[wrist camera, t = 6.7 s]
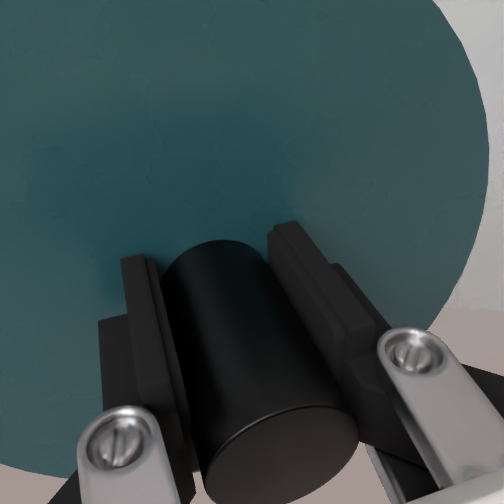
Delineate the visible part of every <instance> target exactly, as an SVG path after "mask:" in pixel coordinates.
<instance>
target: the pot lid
mask: <svg viewBox="0 0 504 504" xmlns="http://www.w3.org/2000/svg"><path fill="white" fill-rule="evenodd" d="M488 167H489V142H488V132H487V122H486V113H485V109H484V105H483V101H482V97H481V94H480V90H479V86H478V82H477V78H476V76H475V73H474V71H473V69H472V66H471V64H470V62H469V59H468V57H467V55H466V52H465V50H464V48H463V45H462V43H461V41H460V40H459V38H458V37H457V35H456V34H455V32H454V30H453V29H452V27H451V26H450V24H449V23H448V21H447V19H446V18H445V16H444V15H443V13H442V12H441V10H440V8H439V7H438V6H437V5H436V4H435V3H434V2H433V1H432V0H0V464H4V465H7V466H10V467H14V468H17V469H21V470H24V471H28V472H33V473H39V474H44V475H49V476H54V477H59V478H70V477H71V475H72V474H73V473H74V472H75V471H76V469H77V468H78V464H77V443H78V441H79V439H80V436H81V434H82V432H83V431H84V429H85V428H86V427H87V425H88V424H89V423H90V422H91V421H92V420H93V419H95V418H96V417H97V416H98V415H100V414H101V413H103V401H102V385H101V369H100V353H99V336H98V321H99V320H102V319H106V318H110V317H114V316H118V315H122V314H126V313H127V307H126V300H125V293H124V286H123V279H122V271H121V264H120V258H125V257H129V256H134V255H139V254H143V257H144V259H149V258H153V259H154V263H155V267H156V272H157V276H158V280H159V284H160V288H161V292H162V296H163V300H164V304H165V308H166V312H167V317H168V321H169V325H170V329H171V333H172V337H173V341H174V345H175V349H176V353H177V357H178V362H179V366H180V370H181V374H182V379H183V383H184V387H185V392H186V397H187V401H188V406H189V411H190V415H191V433H192V438H193V442H194V446H195V450H196V455H197V459H198V463H199V467H200V470H198V471H195V472H199V471H200V472H201V475H202V480H203V484H204V488H205V491H206V493H207V495H208V496H209V497H210V498H211V500H212V501H214V502H215V503H216V504H287V503H290V502H292V501H294V500H297V499H299V498H301V497H303V496H306V495H307V494H309V493H311V492H313V491H315V490H316V489H318V488H319V487H321V486H322V485H324V484H325V483H327V482H328V481H329V480H331V479H332V478H333V477H334V476H335V475H336V474H338V473H339V472H340V471H341V470H342V469H343V467H344V466H345V465H346V464H347V463H348V461H349V460H350V459H351V457H352V456H353V454H354V452H355V450H356V448H357V446H358V443H359V438H360V427H359V423H358V421H357V419H356V417H355V415H354V414H353V412H352V410H351V408H350V407H349V405H348V403H347V402H346V400H345V398H344V396H343V395H342V393H341V391H340V390H339V388H338V386H337V384H336V383H335V381H334V379H333V377H332V376H331V374H330V372H329V371H328V369H327V367H326V365H325V364H324V362H323V360H322V359H321V357H320V355H319V353H318V352H317V350H316V348H315V347H314V345H313V343H312V341H311V340H310V338H309V336H308V334H307V333H306V331H305V329H304V328H303V326H302V324H301V322H300V321H299V319H298V317H297V316H296V314H295V312H294V310H293V309H292V307H291V305H290V304H289V302H288V300H287V298H286V297H285V295H284V293H283V291H282V290H281V288H280V286H279V285H278V283H277V281H276V279H275V278H274V276H273V274H272V273H271V271H270V269H269V267H268V247H267V233H268V232H271V231H273V228H274V225H277V224H281V223H286V222H291V221H297V222H298V223H299V224H300V225H301V227H302V228H303V229H304V231H305V232H306V233H307V234H308V236H309V237H310V238H311V240H312V241H313V242H314V244H315V245H316V246H317V247H318V249H319V250H320V251H321V253H322V254H323V255H324V257H325V258H326V259H327V260H328V262H329V263H330V264H333V263H339V264H340V265H341V266H342V267H343V268H344V269H345V270H346V272H347V273H348V274H349V275H350V277H351V278H352V279H353V280H354V282H355V283H356V284H357V285H358V287H359V288H360V289H361V290H362V292H363V293H364V294H365V295H366V297H367V298H368V299H369V300H370V301H371V303H372V304H373V305H374V306H375V308H376V309H377V310H378V311H379V313H380V314H381V315H382V316H383V318H384V319H385V320H386V321H387V323H388V324H389V325H390V326H391V328H392V329H394V328H397V327H415V328H420V329H423V330H427V329H428V328H429V327H430V325H431V324H432V323H433V321H434V320H435V318H436V317H437V315H438V314H439V312H440V311H441V309H442V308H443V306H444V305H445V303H446V302H447V300H448V299H449V297H450V295H451V293H452V291H453V289H454V287H455V285H456V284H457V282H458V280H459V278H460V276H461V274H462V272H463V270H464V267H465V265H466V262H467V260H468V258H469V255H470V253H471V250H472V248H473V245H474V242H475V239H476V235H477V232H478V229H479V225H480V222H481V218H482V215H483V209H484V203H485V197H486V191H487V185H488ZM195 472H192V473H195Z"/></svg>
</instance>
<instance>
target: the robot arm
mask: <svg viewBox="0 0 504 504" xmlns="http://www.w3.org/2000/svg"><path fill="white" fill-rule="evenodd" d="M267 247H268V267H269V269H270V271H271V273H272V274H273V276H274V278H275V279H276V281H277V283H278V285H279V286H280V288H281V290H282V291H283V293H284V295H285V297H286V298H287V300H288V302H289V304H290V305H291V307H292V309H293V310H294V312H295V314H296V316H297V317H298V319H299V321H300V322H301V324H302V326H303V328H304V329H305V331H306V333H307V334H308V336H309V338H310V340H311V341H312V343H313V345H314V347H315V348H316V350H317V352H318V353H319V355H320V357H321V359H322V360H323V362H324V364H325V365H326V367H327V369H328V371H329V372H330V374H331V376H332V377H333V379H334V381H335V383H336V384H337V386H338V388H339V390H340V391H341V393H342V395H343V396H344V398H345V400H346V402H347V403H348V405H349V407H350V408H351V410H352V412H353V414H354V415H355V417H356V419H357V421H358V423H359V427H360V438H359V441H360V442H362V443H365V446H366V450H367V453H368V455H369V457H370V459H371V461H372V463H373V465H374V468H375V470H376V472H377V474H378V476H379V479H380V481H381V483H382V485H383V487H384V489H385V491H386V493H387V496H388V498H389V500H390V502H391V504H504V376H500V375H497V374H494V373H491V372H488V371H484V370H481V369H478V368H474V367H471V366H468V365H464V364H461V363H460V362H459V361H458V359H457V358H456V357H455V356H454V354H452V352H451V350H450V349H449V348H448V346H447V345H446V344H445V343H444V342H443V341H442V340H441V339H440V338H439V337H437V336H436V335H434V334H432V333H431V332H428V331H426V330H423V329H420V328H415V327H397V328H394V329H392V328H391V326H390V325H389V324H388V323H387V321H386V320H385V319H384V318H383V316H382V315H381V314H380V313H379V311H378V310H377V309H376V308H375V306H374V305H373V304H372V303H371V301H370V300H369V299H368V298H367V297H366V295H365V294H364V293H363V292H362V290H361V289H360V288H359V287H358V285H357V284H356V283H355V282H354V280H353V279H352V278H351V277H350V275H349V274H348V273H347V272H346V270H345V269H344V268H343V267H342V266H341V265H340V264H339V263H333V264H330V263H329V262H328V260H327V259H326V258H325V257H324V255H323V254H322V253H321V251H320V250H319V249H318V247H317V246H316V245H315V244H314V242H313V241H312V240H311V238H310V237H309V236H308V234H307V233H306V232H305V231H304V229H303V228H302V227H301V225H300V224H299V223H298V222H297V221H291V222H286V223H281V224H277V225H274V228H273V231H271V232H268V233H267ZM120 264H121V271H122V279H123V286H124V293H125V300H126V307H127V313H126V314H122V315H118V316H114V317H110V318H106V319H102V320H99V321H98V336H99V353H100V369H101V385H102V401H103V413H101V414H100V415H98V416H97V417H96V418H95V419H93V420H92V421H91V422H90V423H89V424H88V425H87V427H86V428H85V429H84V431H83V432H82V434H81V436H80V439H79V441H78V443H77V464H78V468H77V469H76V471H75V472H74V473H73V474H72V475H71V477H70V478H69V479H68V480H67V481H66V483H65V484H64V485H63V486H62V487H61V488H60V490H59V491H58V492H57V493H56V495H55V496H54V497H53V498H52V499H51V500H50V502H49V503H48V504H190V502H191V500H192V499H193V497H194V495H195V494H196V490H195V488H196V487H195V483H194V478H193V474H192V472H195V471H198V470H200V467H199V463H198V459H197V455H196V450H195V446H194V442H193V438H192V433H191V415H190V411H189V406H188V401H187V397H186V392H185V387H184V383H183V379H182V374H181V370H180V366H179V362H178V357H177V353H176V349H175V345H174V341H173V337H172V333H171V329H170V325H169V321H168V317H167V312H166V308H165V304H164V300H163V296H162V292H161V288H160V284H159V280H158V276H157V272H156V267H155V263H154V259H153V258H149V259H144V257H143V254H139V255H134V256H129V257H125V258H120Z"/></svg>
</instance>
